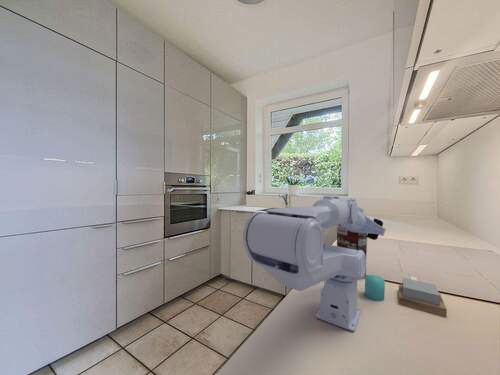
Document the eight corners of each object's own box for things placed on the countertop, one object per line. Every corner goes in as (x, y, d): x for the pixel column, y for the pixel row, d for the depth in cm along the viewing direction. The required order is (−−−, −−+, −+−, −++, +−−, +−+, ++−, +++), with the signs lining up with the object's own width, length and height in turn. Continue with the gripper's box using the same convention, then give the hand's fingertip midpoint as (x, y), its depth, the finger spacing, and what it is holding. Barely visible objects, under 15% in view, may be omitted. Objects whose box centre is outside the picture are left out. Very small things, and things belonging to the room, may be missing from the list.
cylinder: (383, 303, 54) (384, 283, 54) (363, 297, 57) (364, 279, 57) (384, 295, 58) (385, 277, 58) (365, 290, 61) (366, 273, 61)
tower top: (439, 305, 50) (439, 295, 50) (403, 296, 54) (403, 287, 54) (434, 293, 56) (435, 284, 56) (402, 286, 60) (402, 277, 60)
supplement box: (335, 270, 75) (336, 226, 75) (345, 268, 77) (346, 225, 77) (356, 280, 67) (357, 231, 67) (366, 278, 69) (368, 230, 69)
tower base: (446, 320, 49) (446, 309, 49) (398, 306, 54) (399, 297, 54) (439, 303, 56) (440, 293, 56) (398, 292, 61) (398, 284, 61)
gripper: (387, 213, 50) (393, 223, 60) (329, 195, 60) (343, 206, 70) (375, 241, 50) (384, 246, 60) (320, 218, 60) (335, 225, 70)
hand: (361, 226), depth 65 cm, fingers open, 7 cm apart
